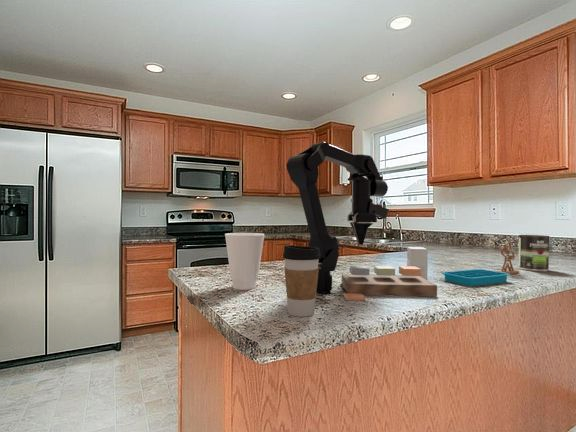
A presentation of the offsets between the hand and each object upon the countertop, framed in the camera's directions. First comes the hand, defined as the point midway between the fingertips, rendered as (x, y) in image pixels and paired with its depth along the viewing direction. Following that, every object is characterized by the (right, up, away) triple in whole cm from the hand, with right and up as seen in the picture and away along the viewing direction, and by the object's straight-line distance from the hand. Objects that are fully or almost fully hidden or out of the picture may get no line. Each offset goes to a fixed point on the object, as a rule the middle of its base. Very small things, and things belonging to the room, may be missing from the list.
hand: (360, 244), depth 107 cm
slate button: (-2, -8, -6) cm, 11 cm away
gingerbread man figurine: (+61, -13, +21) cm, 66 cm away
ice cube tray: (+40, -13, +6) cm, 42 cm away
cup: (-36, -13, -7) cm, 39 cm away
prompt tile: (-6, -13, -19) cm, 23 cm away
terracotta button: (+13, -8, -7) cm, 17 cm away
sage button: (+6, -8, -7) cm, 12 cm away
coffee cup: (-20, -13, -32) cm, 40 cm away
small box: (+22, -13, +11) cm, 28 cm away
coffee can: (+78, -13, +31) cm, 85 cm away
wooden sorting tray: (+6, -13, -8) cm, 16 cm away
